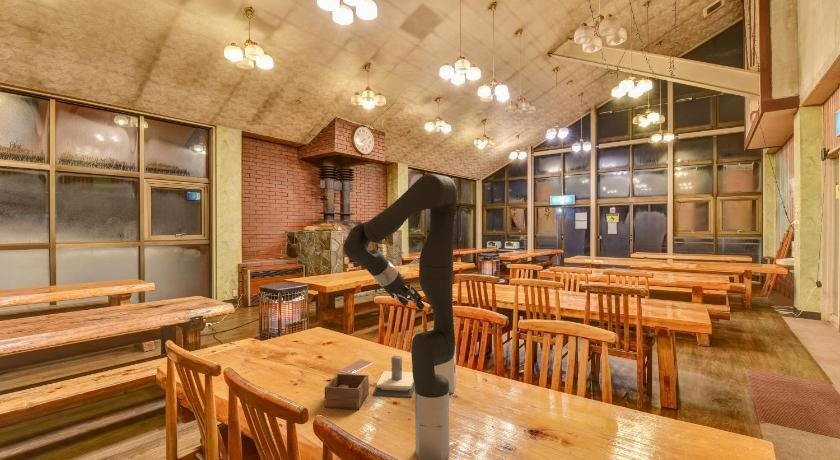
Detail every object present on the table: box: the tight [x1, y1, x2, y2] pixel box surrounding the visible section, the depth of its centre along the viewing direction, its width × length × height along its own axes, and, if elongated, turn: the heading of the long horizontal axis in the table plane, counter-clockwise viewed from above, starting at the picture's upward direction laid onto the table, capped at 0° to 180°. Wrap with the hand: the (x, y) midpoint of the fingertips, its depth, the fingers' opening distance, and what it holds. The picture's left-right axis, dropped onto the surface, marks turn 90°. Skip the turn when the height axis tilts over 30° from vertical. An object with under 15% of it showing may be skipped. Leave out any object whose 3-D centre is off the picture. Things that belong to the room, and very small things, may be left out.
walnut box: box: [324, 373, 370, 411], centre depth 134 cm, size 12×12×7 cm
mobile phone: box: [339, 359, 373, 374], centre depth 166 cm, size 8×1×15 cm
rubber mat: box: [372, 382, 415, 399], centre depth 146 cm, size 18×14×1 cm
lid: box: [375, 355, 414, 391], centre depth 146 cm, size 13×13×10 cm
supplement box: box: [434, 345, 457, 394], centre depth 144 cm, size 9×9×15 cm
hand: (414, 306), depth 132 cm, fingers open, 8 cm apart
